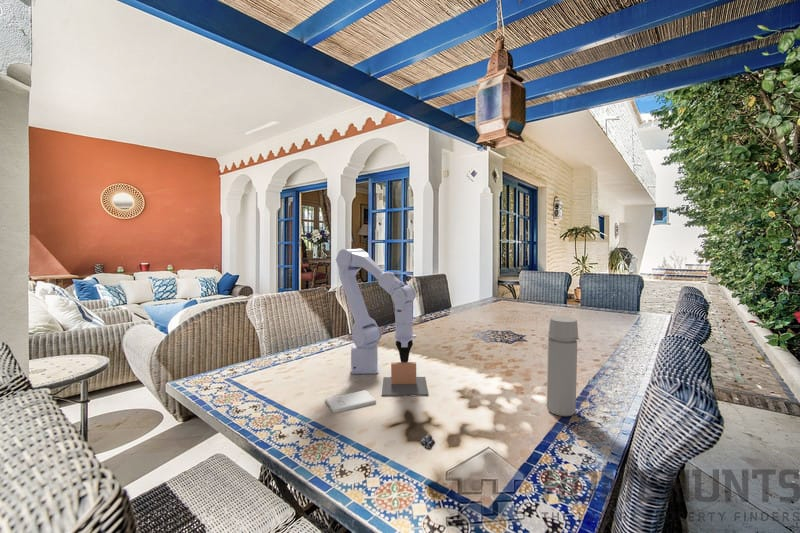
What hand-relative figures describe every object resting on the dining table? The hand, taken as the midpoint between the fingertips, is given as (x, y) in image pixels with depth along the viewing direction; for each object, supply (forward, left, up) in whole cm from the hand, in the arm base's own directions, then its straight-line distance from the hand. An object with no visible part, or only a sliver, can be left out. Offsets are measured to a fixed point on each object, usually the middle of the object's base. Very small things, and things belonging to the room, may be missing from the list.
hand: (404, 362), depth 120 cm
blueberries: (+5, -38, -6) cm, 39 cm away
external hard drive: (-16, -17, -6) cm, 24 cm away
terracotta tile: (0, -4, -5) cm, 7 cm away
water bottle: (+42, -23, -6) cm, 48 cm away
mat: (0, -6, -6) cm, 8 cm away
